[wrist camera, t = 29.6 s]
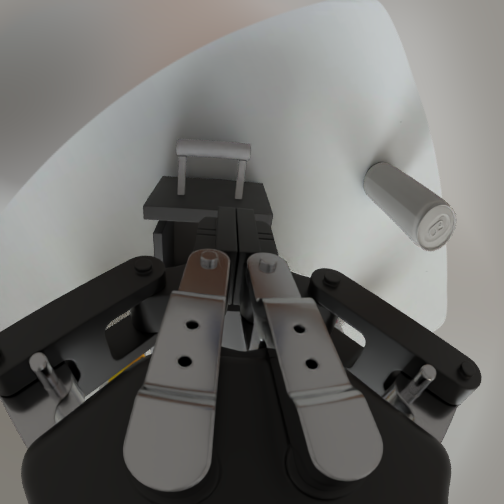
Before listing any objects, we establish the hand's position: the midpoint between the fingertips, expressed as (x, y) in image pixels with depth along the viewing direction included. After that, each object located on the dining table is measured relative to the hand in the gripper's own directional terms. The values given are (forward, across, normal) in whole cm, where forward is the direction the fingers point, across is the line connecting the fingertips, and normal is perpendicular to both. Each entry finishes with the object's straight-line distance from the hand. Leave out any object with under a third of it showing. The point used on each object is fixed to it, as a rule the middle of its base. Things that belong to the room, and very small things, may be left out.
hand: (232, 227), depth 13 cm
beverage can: (+18, -18, +2) cm, 26 cm away
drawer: (+17, +1, +7) cm, 19 cm away
